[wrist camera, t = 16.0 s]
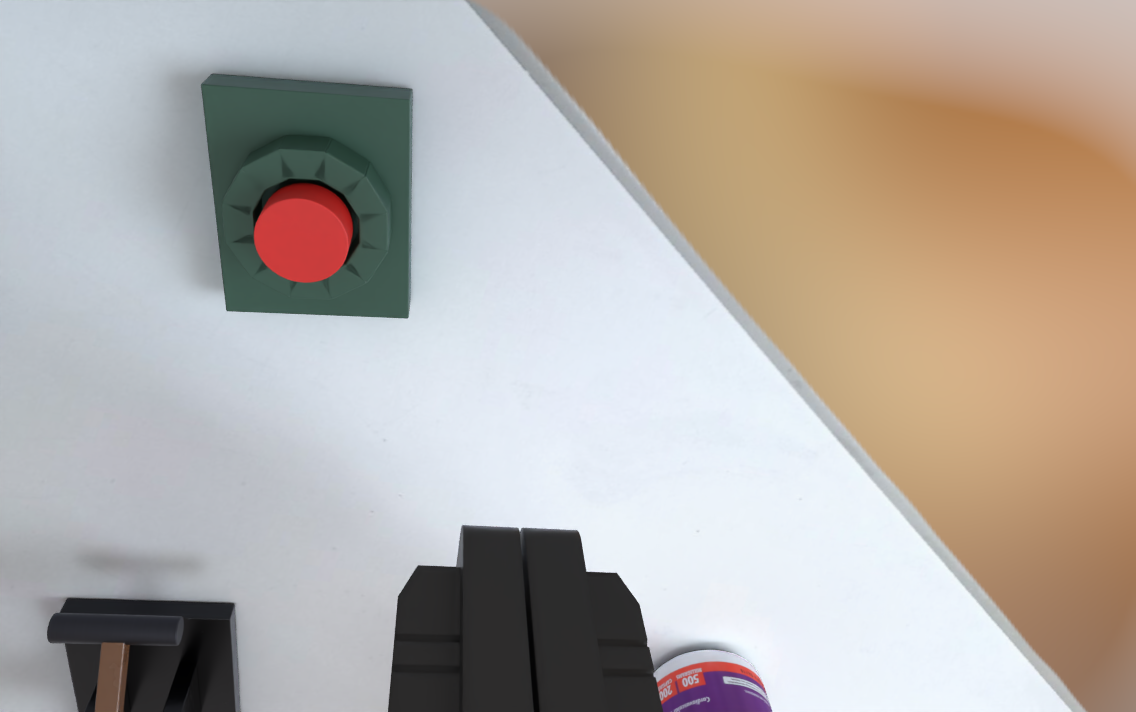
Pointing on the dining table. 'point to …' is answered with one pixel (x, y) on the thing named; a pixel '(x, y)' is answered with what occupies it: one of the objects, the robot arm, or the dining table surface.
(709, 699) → the pill bottle
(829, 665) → the dining table surface
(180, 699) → the bracket
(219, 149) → the button block
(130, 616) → the lever
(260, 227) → the button
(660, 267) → the dining table surface
